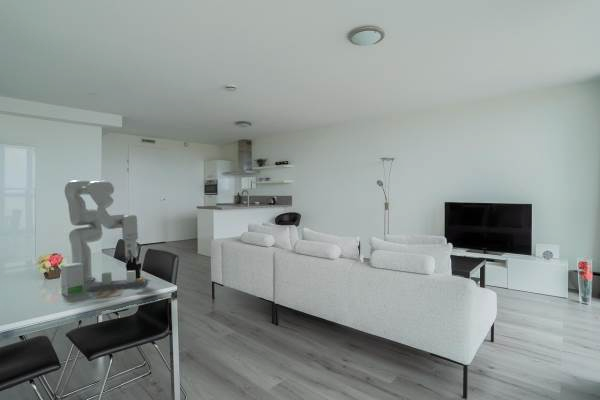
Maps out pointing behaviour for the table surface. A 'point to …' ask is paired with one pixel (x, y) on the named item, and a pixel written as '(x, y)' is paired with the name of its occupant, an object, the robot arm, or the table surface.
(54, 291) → the table surface
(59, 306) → the table surface
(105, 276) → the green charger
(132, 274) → the white charger
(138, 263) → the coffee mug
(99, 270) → the table surface
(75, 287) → the skincare box
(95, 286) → the power strip
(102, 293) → the walnut board
